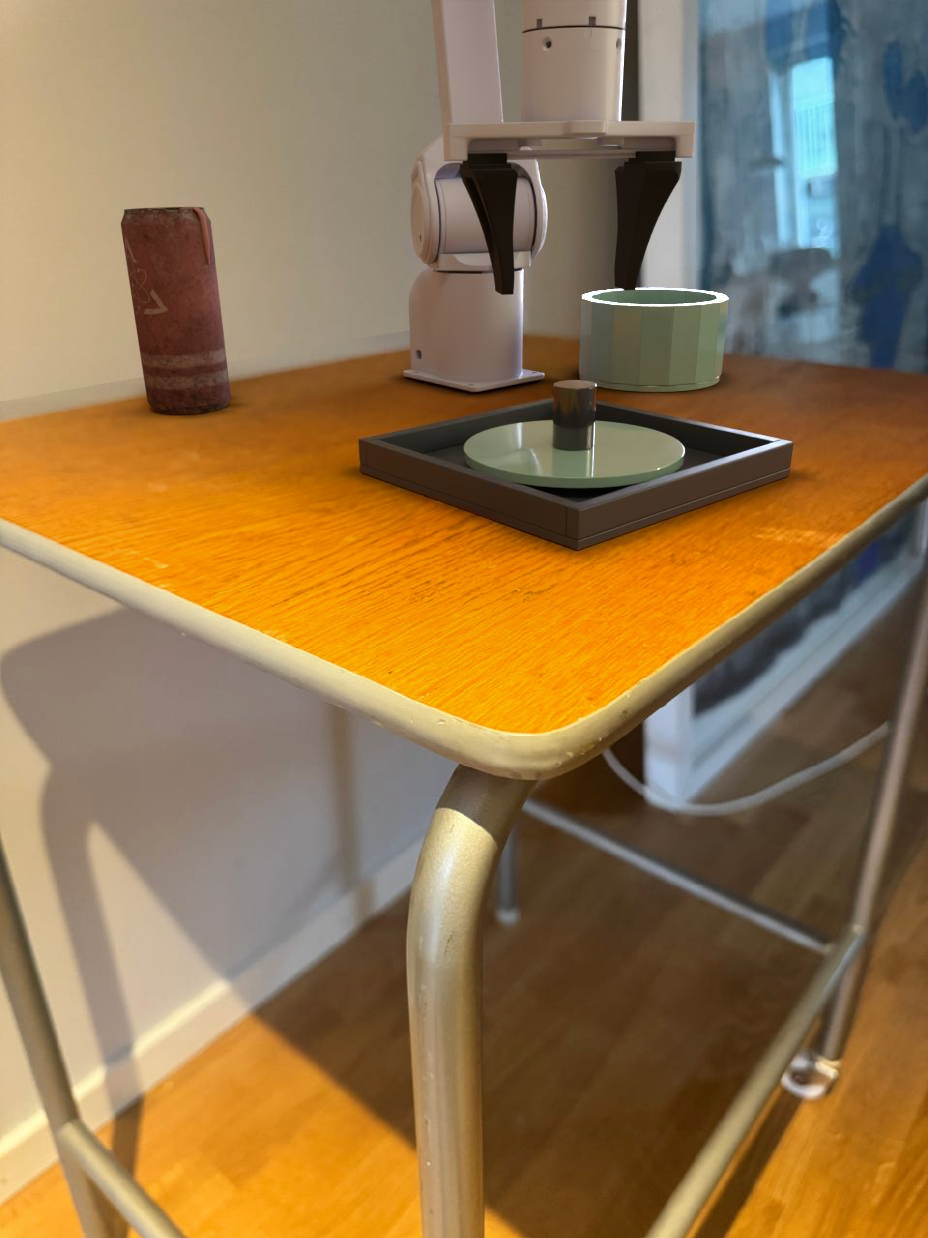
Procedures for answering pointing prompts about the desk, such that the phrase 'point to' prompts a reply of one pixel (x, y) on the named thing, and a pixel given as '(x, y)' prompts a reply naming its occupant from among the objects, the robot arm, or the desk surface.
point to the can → (176, 308)
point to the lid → (574, 447)
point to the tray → (576, 514)
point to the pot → (652, 339)
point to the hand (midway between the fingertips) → (565, 290)
